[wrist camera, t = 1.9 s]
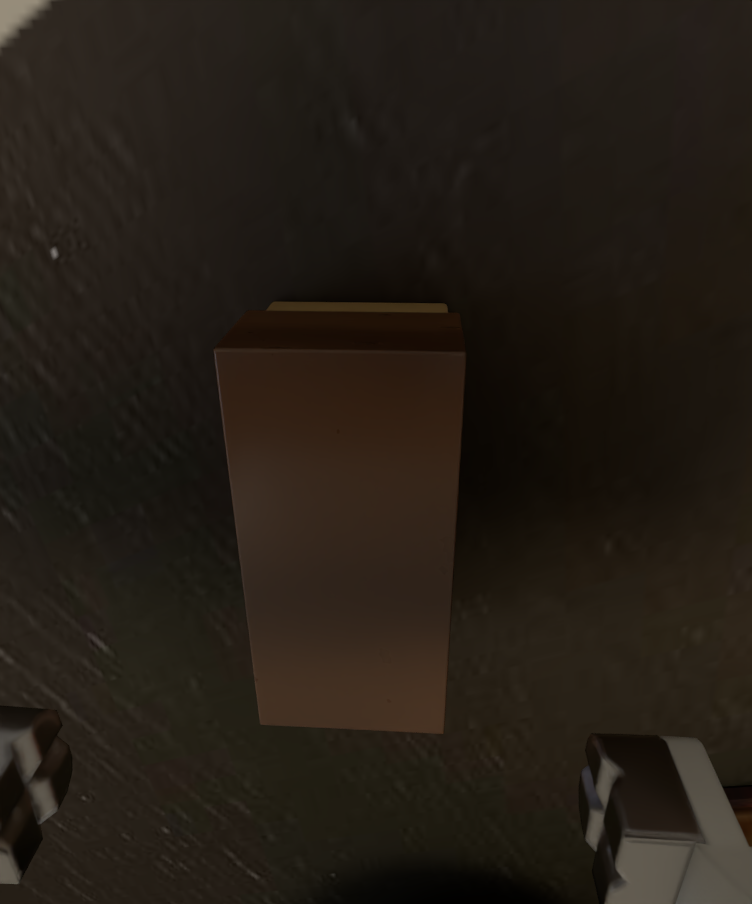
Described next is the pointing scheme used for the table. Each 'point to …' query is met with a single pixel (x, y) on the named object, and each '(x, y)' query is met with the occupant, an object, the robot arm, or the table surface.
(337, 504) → the brown rectangular block
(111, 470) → the table surface
